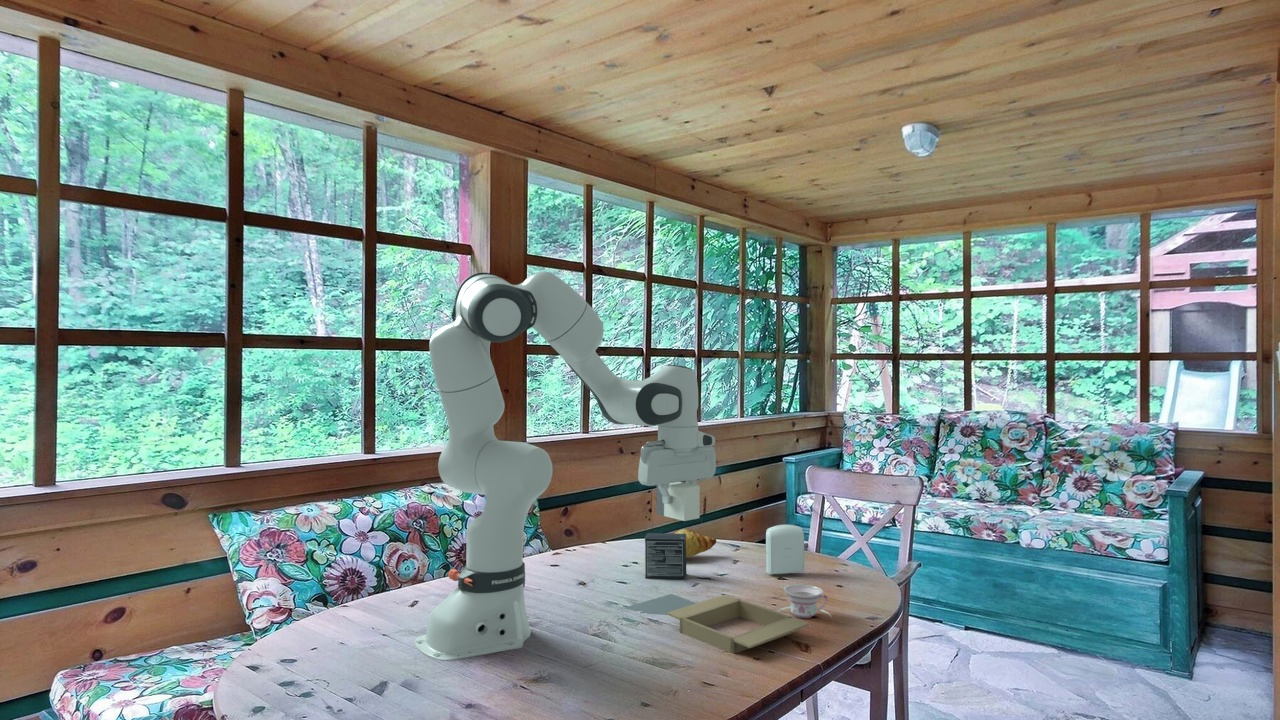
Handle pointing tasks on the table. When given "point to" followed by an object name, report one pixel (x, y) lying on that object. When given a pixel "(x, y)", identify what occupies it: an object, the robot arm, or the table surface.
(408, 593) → the table surface
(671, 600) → the slate mat
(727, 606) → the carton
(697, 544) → the croissant
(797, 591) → the teacup
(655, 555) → the small box
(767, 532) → the photo printer
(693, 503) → the box
